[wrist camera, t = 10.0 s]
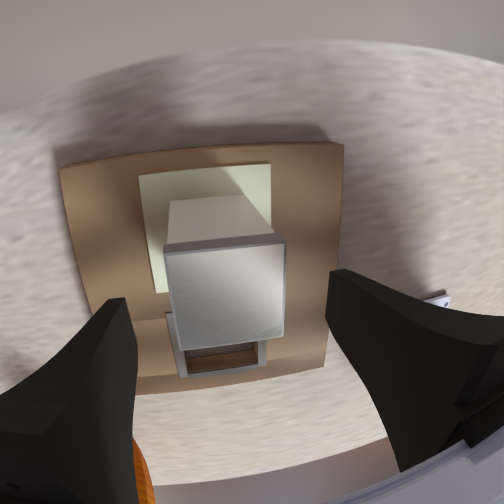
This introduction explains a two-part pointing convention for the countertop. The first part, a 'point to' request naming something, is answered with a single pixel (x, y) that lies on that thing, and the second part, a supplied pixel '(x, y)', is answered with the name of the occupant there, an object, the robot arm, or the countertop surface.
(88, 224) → the brown board with panel
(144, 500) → the carrot
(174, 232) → the plug
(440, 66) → the countertop surface
